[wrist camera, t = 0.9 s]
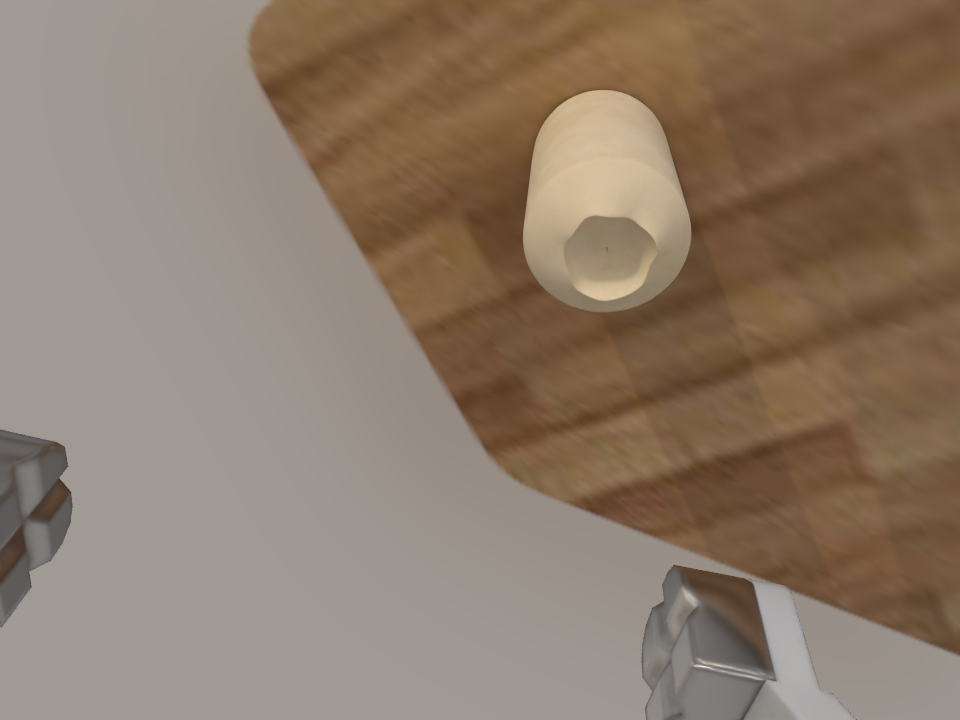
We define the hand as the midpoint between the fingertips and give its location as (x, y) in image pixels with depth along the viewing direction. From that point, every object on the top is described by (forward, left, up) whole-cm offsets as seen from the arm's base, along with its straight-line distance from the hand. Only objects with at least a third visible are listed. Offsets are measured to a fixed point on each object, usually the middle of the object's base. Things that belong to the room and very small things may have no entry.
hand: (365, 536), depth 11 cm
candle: (+5, +2, -27) cm, 27 cm away
